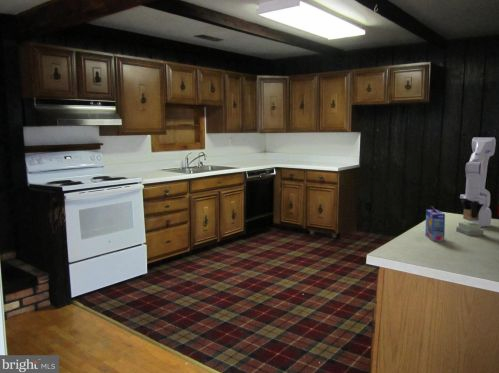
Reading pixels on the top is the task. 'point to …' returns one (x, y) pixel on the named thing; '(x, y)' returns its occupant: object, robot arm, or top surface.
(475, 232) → the base tile
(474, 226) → the top tile
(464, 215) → the walnut cube
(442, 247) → the top surface
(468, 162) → the robot arm
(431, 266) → the top surface
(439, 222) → the ink cartridge box
